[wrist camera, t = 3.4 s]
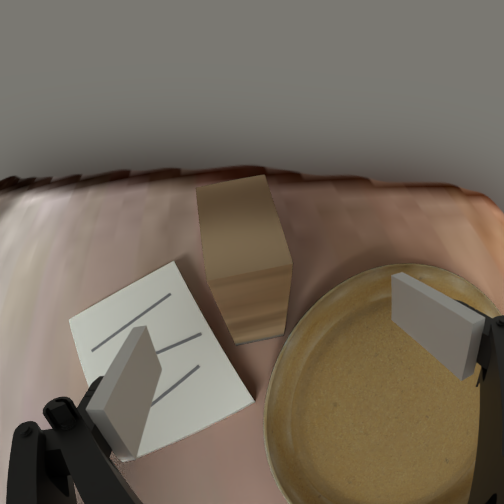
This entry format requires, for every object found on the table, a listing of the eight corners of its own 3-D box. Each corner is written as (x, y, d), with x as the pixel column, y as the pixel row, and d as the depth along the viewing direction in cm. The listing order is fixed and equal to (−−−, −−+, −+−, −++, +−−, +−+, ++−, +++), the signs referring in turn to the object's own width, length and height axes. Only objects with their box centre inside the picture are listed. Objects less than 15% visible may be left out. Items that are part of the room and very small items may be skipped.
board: (77, 325, 25) (68, 319, 23) (178, 269, 28) (173, 260, 26) (130, 460, 18) (121, 462, 17) (255, 401, 21) (254, 400, 19)
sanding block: (283, 335, 24) (293, 263, 13) (235, 345, 23) (206, 281, 13) (268, 273, 27) (264, 174, 17) (224, 281, 27) (195, 187, 16)
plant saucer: (463, 529, 11) (481, 536, 8) (218, 499, 17) (210, 510, 14) (510, 311, 22) (527, 299, 19) (316, 251, 28) (320, 230, 25)
